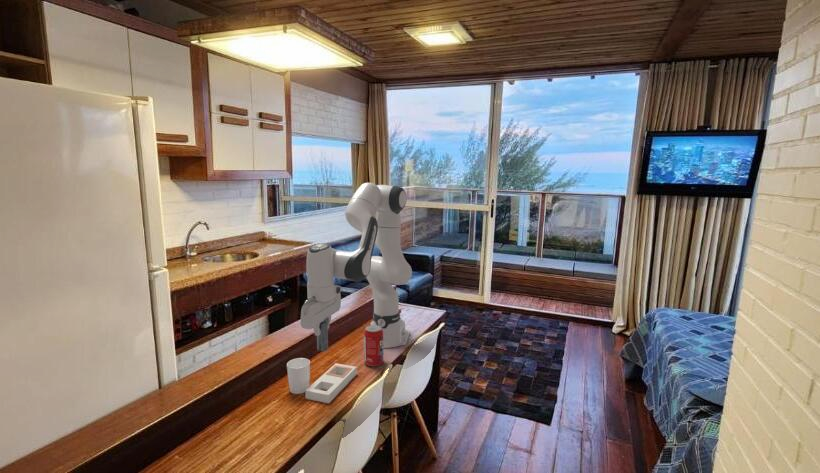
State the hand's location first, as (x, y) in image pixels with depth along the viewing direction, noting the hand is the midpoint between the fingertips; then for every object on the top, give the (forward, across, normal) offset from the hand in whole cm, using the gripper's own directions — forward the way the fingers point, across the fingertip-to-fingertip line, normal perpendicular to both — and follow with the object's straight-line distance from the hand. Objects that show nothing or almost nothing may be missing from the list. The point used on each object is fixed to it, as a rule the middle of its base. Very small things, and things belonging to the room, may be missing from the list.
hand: (322, 331), depth 138 cm
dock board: (+23, +6, 0) cm, 24 cm away
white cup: (+23, 0, +10) cm, 25 cm away
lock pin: (+6, 0, 0) cm, 6 cm away
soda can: (+23, +27, -7) cm, 36 cm away
